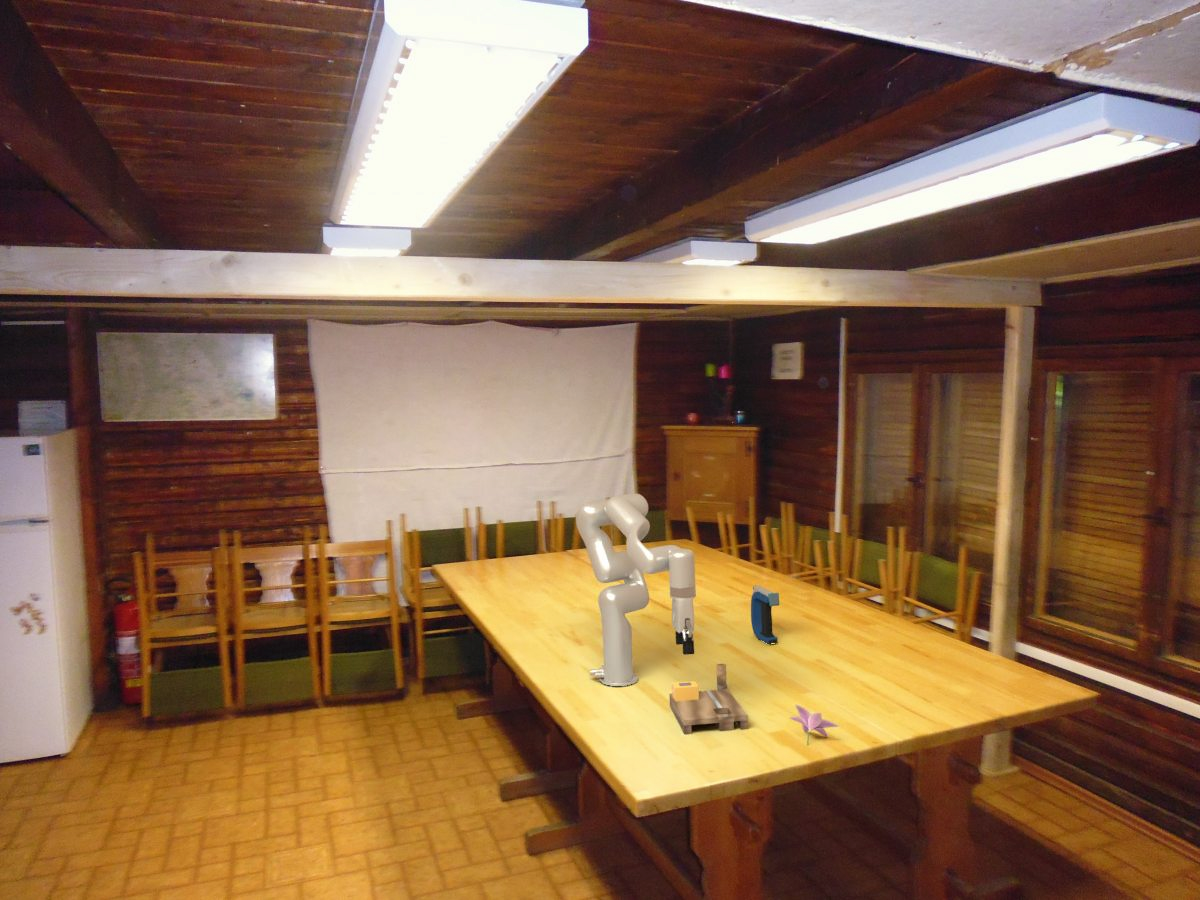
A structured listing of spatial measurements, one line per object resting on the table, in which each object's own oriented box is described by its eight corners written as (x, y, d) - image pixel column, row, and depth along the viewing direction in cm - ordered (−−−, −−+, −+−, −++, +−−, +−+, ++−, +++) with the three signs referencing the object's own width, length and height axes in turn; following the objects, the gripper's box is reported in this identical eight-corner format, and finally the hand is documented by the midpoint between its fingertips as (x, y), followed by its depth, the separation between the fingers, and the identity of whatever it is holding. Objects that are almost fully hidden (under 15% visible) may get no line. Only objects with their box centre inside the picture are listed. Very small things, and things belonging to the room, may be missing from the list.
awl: (718, 695, 252) (717, 667, 251) (716, 692, 255) (715, 664, 254) (728, 694, 252) (727, 666, 251) (725, 691, 255) (724, 663, 254)
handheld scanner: (769, 647, 296) (769, 594, 295) (750, 634, 311) (750, 584, 310) (781, 646, 297) (781, 593, 296) (761, 633, 313) (760, 583, 311)
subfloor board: (684, 734, 225) (684, 720, 224) (669, 706, 244) (669, 693, 244) (747, 728, 227) (747, 714, 226) (728, 701, 247) (727, 688, 246)
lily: (843, 750, 214) (844, 713, 217) (810, 742, 209) (812, 704, 213) (810, 749, 224) (812, 713, 227) (778, 741, 219) (780, 704, 222)
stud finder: (675, 701, 238) (675, 687, 238) (672, 695, 242) (671, 682, 242) (698, 699, 239) (698, 686, 239) (695, 693, 243) (694, 680, 243)
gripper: (664, 586, 246) (666, 641, 247) (676, 599, 229) (678, 659, 230) (688, 584, 247) (690, 639, 248) (702, 597, 230) (704, 657, 231)
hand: (684, 649), depth 239 cm, fingers open, 9 cm apart
